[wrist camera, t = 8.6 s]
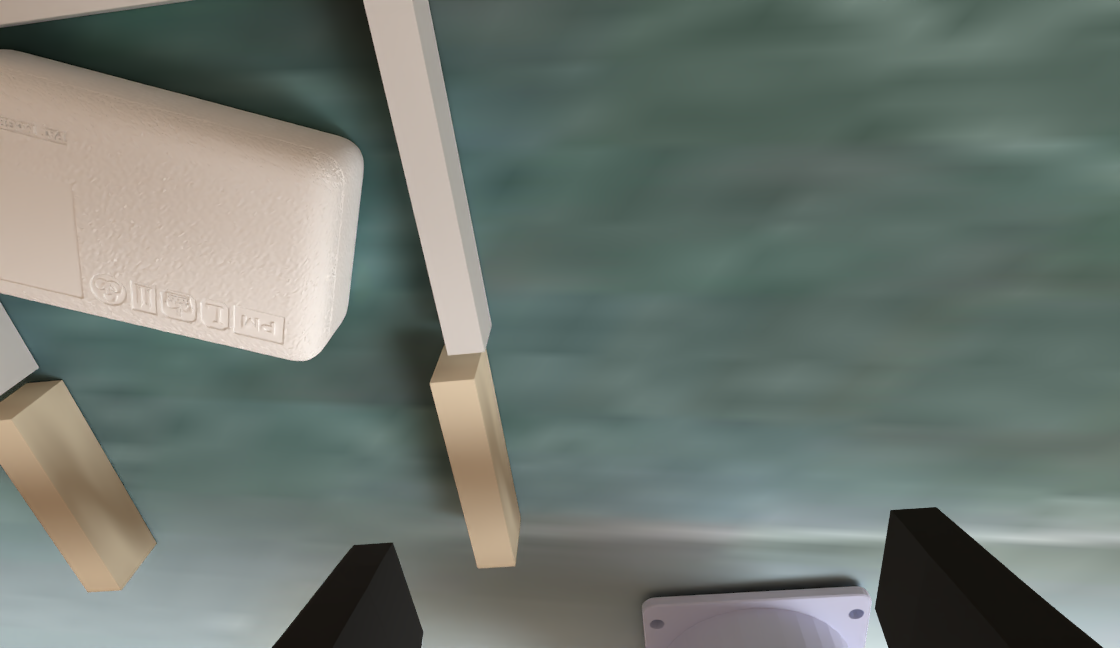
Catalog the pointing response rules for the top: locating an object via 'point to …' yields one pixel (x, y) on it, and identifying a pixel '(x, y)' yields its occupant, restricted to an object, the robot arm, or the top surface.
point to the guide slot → (120, 532)
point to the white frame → (422, 146)
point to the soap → (173, 210)
